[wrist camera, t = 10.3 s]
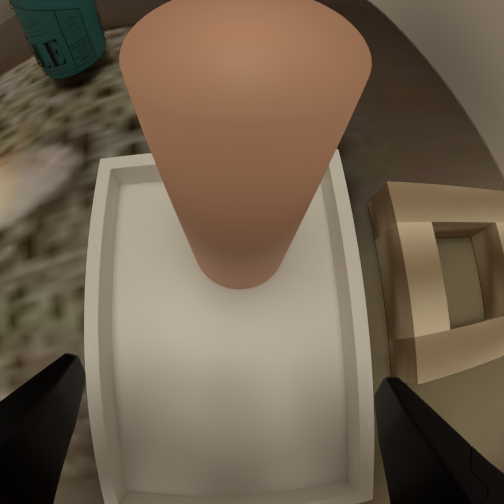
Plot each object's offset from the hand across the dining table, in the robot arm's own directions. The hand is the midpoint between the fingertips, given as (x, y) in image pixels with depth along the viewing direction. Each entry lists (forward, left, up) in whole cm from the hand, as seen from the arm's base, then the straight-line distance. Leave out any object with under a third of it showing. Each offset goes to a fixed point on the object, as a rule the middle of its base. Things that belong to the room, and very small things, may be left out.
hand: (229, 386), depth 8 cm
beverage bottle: (+25, +13, -9) cm, 29 cm away
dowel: (+7, -1, -8) cm, 10 cm away
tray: (+2, 0, -8) cm, 9 cm away
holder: (+4, -15, -8) cm, 17 cm away
